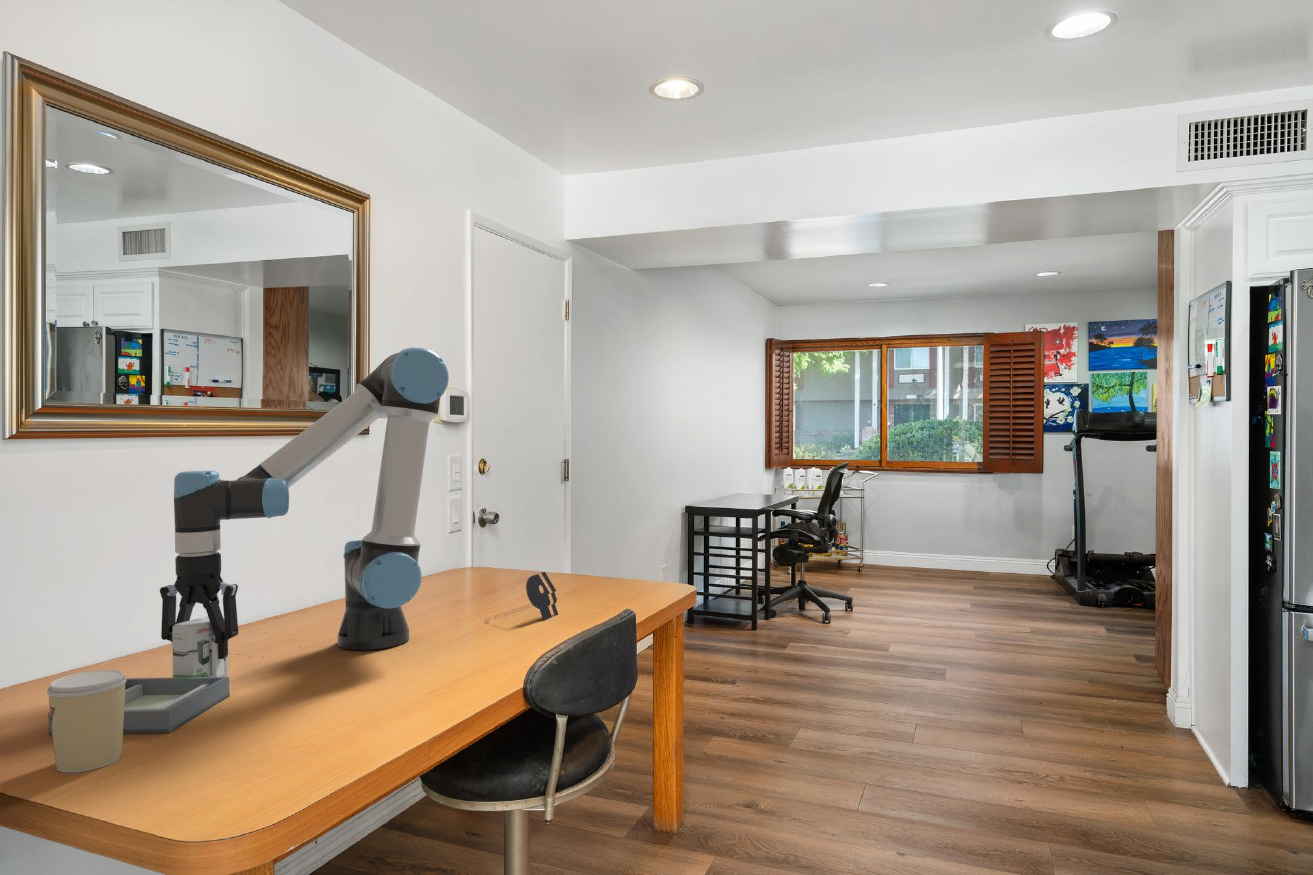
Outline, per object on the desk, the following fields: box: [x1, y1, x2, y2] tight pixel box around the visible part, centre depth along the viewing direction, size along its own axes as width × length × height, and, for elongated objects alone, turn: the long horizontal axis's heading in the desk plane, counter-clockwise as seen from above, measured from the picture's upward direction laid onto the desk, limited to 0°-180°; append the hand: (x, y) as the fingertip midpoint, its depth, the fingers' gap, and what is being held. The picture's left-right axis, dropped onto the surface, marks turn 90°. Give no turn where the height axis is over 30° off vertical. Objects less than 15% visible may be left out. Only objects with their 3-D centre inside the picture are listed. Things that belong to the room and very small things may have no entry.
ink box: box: [172, 615, 229, 678], centre depth 156 cm, size 9×5×12 cm, turn 165°
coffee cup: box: [46, 669, 127, 774], centre depth 119 cm, size 9×9×12 cm
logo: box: [484, 571, 559, 623], centre depth 205 cm, size 17×18×11 cm
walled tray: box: [48, 676, 230, 736], centre depth 139 cm, size 19×18×4 cm
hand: (201, 675), depth 156 cm, fingers closed on ink box, 6 cm apart
